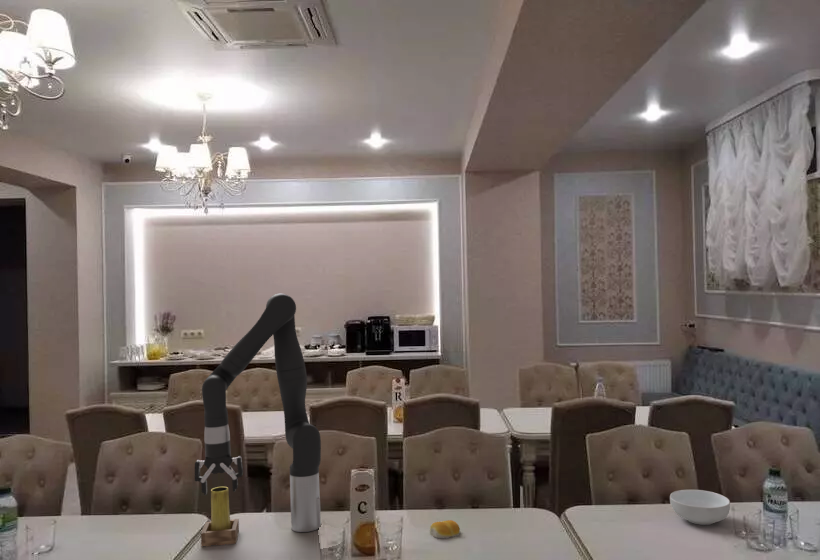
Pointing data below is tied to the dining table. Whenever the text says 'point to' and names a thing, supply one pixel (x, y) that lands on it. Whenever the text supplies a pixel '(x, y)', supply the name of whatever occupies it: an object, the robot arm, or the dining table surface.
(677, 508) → the cereal bowl
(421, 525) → the dining table surface
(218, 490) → the vase
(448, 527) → the bread roll
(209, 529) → the socket block
